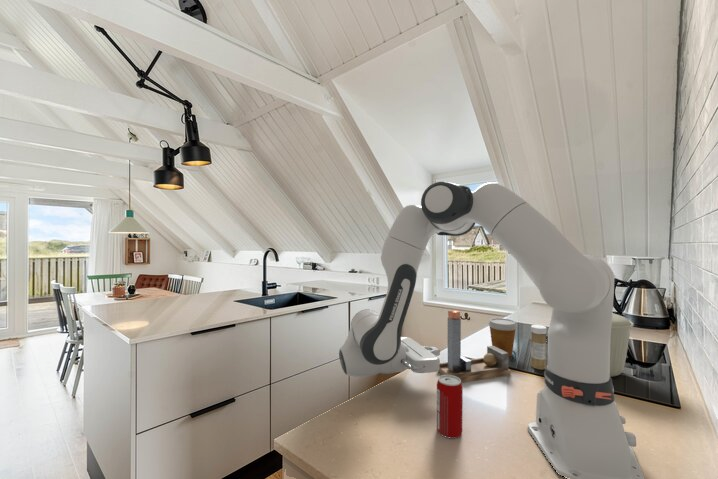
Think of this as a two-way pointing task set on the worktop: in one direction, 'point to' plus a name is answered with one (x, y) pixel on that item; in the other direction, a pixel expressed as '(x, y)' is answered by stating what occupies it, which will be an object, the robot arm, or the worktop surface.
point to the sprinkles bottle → (538, 346)
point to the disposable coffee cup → (503, 334)
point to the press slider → (456, 344)
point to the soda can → (449, 406)
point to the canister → (619, 343)
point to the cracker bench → (483, 366)
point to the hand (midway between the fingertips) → (437, 350)
